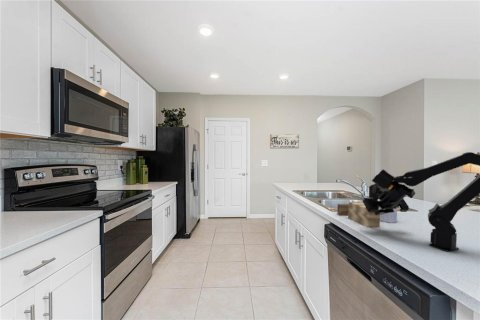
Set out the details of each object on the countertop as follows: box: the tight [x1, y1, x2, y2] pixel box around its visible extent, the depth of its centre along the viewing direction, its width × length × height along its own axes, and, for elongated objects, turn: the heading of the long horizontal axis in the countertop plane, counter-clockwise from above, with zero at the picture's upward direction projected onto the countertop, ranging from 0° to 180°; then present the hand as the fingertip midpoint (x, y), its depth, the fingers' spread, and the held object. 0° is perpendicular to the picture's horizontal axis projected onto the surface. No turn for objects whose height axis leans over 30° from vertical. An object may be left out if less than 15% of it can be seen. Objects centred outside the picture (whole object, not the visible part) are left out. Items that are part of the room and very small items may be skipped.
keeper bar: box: [347, 201, 381, 229], centre depth 117 cm, size 16×6×9 cm, turn 7°
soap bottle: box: [377, 180, 398, 224], centre depth 122 cm, size 9×9×25 cm
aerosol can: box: [368, 183, 378, 201], centre depth 134 cm, size 8×8×20 cm
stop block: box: [336, 203, 349, 217], centre depth 132 cm, size 3×10×6 cm, turn 96°
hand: (375, 214), depth 108 cm, fingers closed
